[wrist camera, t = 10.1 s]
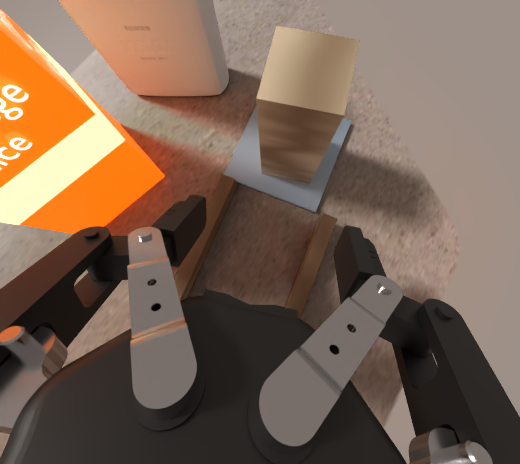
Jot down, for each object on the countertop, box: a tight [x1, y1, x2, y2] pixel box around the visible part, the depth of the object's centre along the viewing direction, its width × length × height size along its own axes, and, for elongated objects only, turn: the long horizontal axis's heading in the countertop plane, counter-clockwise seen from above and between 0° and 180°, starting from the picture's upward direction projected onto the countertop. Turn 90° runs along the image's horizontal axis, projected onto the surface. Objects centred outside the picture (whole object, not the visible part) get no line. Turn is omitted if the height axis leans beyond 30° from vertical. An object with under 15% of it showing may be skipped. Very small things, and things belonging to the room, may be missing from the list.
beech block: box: [256, 26, 360, 183], centre depth 16 cm, size 4×4×9 cm
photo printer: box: [58, 0, 229, 96], centre depth 16 cm, size 10×4×12 cm, turn 87°
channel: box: [174, 174, 337, 319], centre depth 18 cm, size 10×17×2 cm, turn 157°
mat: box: [224, 104, 351, 213], centre depth 21 cm, size 9×10×1 cm
